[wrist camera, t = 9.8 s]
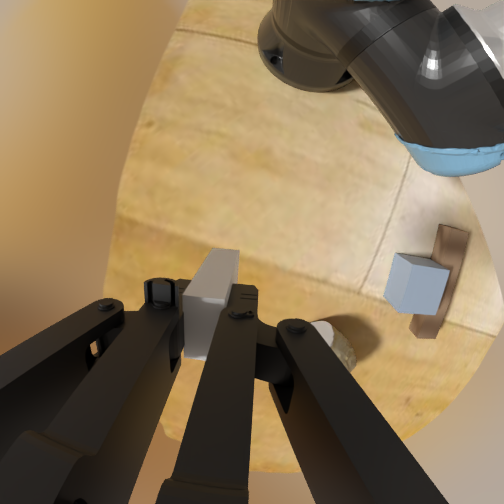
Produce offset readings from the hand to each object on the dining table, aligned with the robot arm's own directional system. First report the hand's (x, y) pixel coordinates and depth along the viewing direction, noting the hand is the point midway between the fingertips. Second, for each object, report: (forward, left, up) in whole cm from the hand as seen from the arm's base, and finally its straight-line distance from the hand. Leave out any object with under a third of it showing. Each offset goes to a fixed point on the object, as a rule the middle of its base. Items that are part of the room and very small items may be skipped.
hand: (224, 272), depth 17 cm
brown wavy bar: (+5, +32, -24) cm, 40 cm away
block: (+5, +26, -24) cm, 36 cm away
